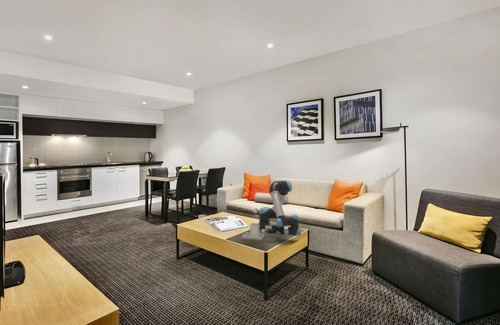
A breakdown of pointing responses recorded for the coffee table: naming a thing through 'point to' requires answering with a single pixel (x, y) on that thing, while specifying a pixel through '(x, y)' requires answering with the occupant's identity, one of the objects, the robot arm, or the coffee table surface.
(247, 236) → the mounting board
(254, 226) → the module
